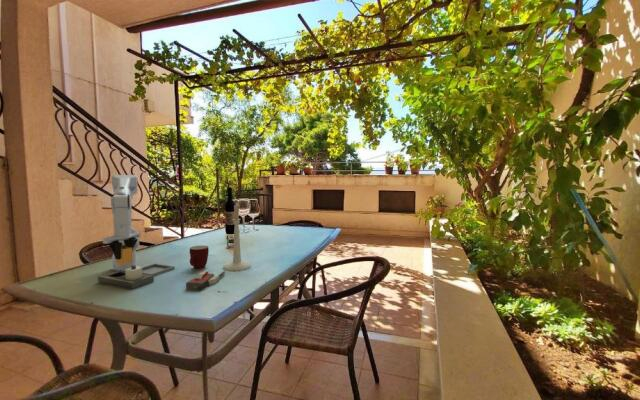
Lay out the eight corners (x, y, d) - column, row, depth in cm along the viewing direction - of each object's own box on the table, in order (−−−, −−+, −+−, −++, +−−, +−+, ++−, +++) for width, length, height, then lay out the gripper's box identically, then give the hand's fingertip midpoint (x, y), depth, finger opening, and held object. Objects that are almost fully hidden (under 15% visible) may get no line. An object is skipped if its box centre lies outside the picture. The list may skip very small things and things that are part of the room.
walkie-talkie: (205, 292, 111) (226, 275, 131) (205, 280, 111) (226, 265, 131) (183, 291, 112) (207, 274, 132) (182, 280, 112) (207, 264, 131)
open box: (98, 283, 118) (98, 276, 118) (120, 276, 126) (120, 269, 126) (132, 290, 111) (132, 282, 111) (153, 282, 120) (153, 275, 119)
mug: (201, 273, 132) (201, 251, 131) (184, 272, 133) (183, 250, 132) (211, 266, 143) (211, 245, 142) (195, 265, 143) (194, 245, 142)
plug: (116, 263, 120) (115, 245, 120) (125, 260, 124) (125, 243, 124) (123, 264, 119) (122, 246, 119) (132, 261, 123) (132, 244, 122)
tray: (131, 274, 129) (130, 270, 129) (155, 267, 140) (155, 263, 140) (151, 278, 125) (151, 274, 125) (174, 270, 136) (174, 266, 136)
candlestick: (256, 265, 145) (256, 203, 143) (238, 272, 133) (237, 205, 131) (236, 261, 150) (235, 202, 148) (217, 268, 139) (215, 204, 137)
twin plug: (125, 284, 116) (125, 266, 116) (135, 281, 120) (134, 263, 119) (133, 286, 115) (132, 267, 114) (142, 282, 118) (142, 264, 118)
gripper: (111, 227, 112) (112, 263, 113) (145, 222, 126) (146, 254, 127) (98, 226, 115) (99, 261, 116) (133, 221, 128) (134, 252, 129)
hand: (123, 257), depth 122 cm, fingers closed on plug, 4 cm apart
